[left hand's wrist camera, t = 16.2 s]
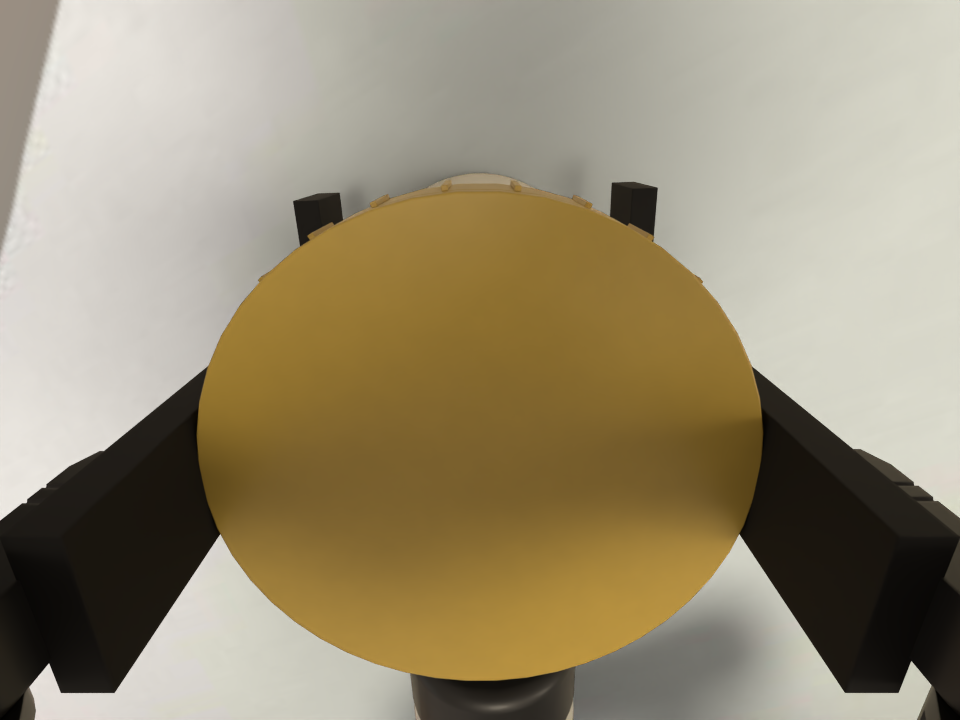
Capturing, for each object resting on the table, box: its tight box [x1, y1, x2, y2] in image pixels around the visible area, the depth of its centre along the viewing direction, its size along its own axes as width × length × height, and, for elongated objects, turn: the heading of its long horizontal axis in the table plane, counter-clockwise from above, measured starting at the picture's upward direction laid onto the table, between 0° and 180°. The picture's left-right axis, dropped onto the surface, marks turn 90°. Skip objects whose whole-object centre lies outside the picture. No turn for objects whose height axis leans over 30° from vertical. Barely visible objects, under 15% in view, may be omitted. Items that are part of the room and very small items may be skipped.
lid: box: [197, 180, 763, 681], centre depth 11 cm, size 10×10×2 cm
